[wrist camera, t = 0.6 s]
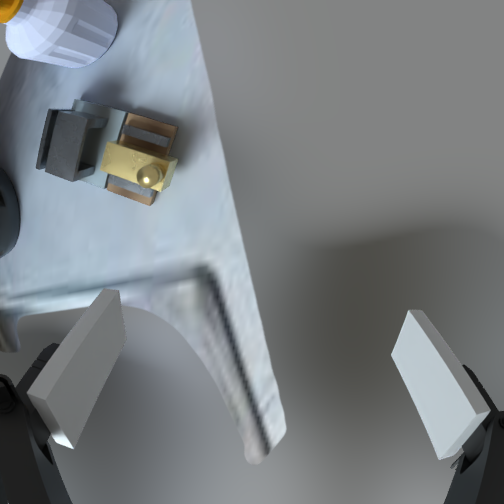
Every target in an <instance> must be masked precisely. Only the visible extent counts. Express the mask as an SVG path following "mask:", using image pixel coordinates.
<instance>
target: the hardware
mask: <svg viewBox="0 0 504 504" xmlns="http://www.w3.org/2000/svg"><path fill="white" fill-rule="evenodd" d="M108 120H109V119H108V118H104V117H100V116H97V115H93V114H89V113H85V112H82V111H75V110H74V109H49V110H48V113H47V117H46V121H45V125H44V130H43V134H42V138H41V143H40V148H39V153H38V158H37V164H36V169H39V170H40V169H43V168H46V169H45V172H47V173H50V174H52V175H55V176H58V177H60V178H63V179H66V180H68V181H71V182H74V181H77V180H79V179H82V178H85V177H88V176H91V175H94V171H95V167H96V166H93V165H90V164H87V163H85V162H82V161H80V158H81V154H82V150H83V146H84V142H85V138H86V134H87V131H88V128H103V127H106V126H107V123H108ZM121 133H122V134H125V135H128V136H132V137H135V138H138V139H141V140H144V141H147V142H151V143H154V144H157V145H160V146H163V147H168V146H169V143H170V140H171V138H170V137H167V136H164V135H161V134H158V133H155V132H152V131H148V130H145V129H142V128H139V127H135V126H132V125H129V124H124V125H123V128H122V132H121ZM107 183H110V184H113V185H116V186H118V187H121V188H124V189H127V190H129V191H132V192H135V193H138V194H140V195H143V196H146V197H149V198H150V197H152V196H153V193H154V189H151V188H143V187H142V186H140V185H139V184H137V183H135V182H132V181H129V180H126V179H123V178H121V177H118V176H115V175H112V174H109V178H108V182H107Z"/></svg>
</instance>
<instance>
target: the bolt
mask: <svg viewBox="0 0 504 504" xmlns="http://www.w3.org/2000/svg"><path fill="white" fill-rule="evenodd" d="M177 161H178V159H176V158H173V157H170V156H167V155H165V154H162V153H159V152H156V151H153V150H150V149H147V148H144V147H140V146H137V145H134V144H131V143H128V142H125V141H122V140H115V141H108V142H107V144H106V148H105V151H104V155H103V159H102V163H101V167H100V170H101V171H104V172H106V173H109V174H112V175H115V176H118V177H121V178H123V179H126V180H129V181H132V182H135V183H137V184H139V185H140V186H142V187H143V188H151V189H154V190H157V191H160V192H161V191H163V190H164V189H166V188H167V187H169V186H170V182H171V179H172V176H173V173H174V170H175V167H176V164H177Z"/></svg>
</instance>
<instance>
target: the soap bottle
mask: <svg viewBox="0 0 504 504" xmlns="http://www.w3.org/2000/svg"><path fill="white" fill-rule="evenodd" d="M0 23H3V24H6V25H7V26H6V43H7V46H8V48H9V49H10V50H11V51H12V52H13V53H14V54H15V55H16V56H18V57H19V58H23V59H29V60H35V61H40V62H45V63H50V64H55V65H60V66H65V67H71V68H80V67H84V66H87V65H89V64H91V63H92V62H94V61H96V60H97V59H99V58H100V57H101V56H102V55H103V54H104V53H105V52H106V51H107V50H108V48H109V47H110V45H111V43H112V42H113V40H114V38H115V35H116V31H117V27H118V22H117V14H116V12H115V11H114V9H113V8H112V6H110V5H109V4H107V3H106V2H104V1H103V0H0Z"/></svg>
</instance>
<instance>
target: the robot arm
mask: <svg viewBox="0 0 504 504" xmlns="http://www.w3.org/2000/svg"><path fill="white" fill-rule="evenodd" d="M19 225H20V217H19V207H18V202H17V198H16V194H15V191H14V188H13V186H12V184H11V182H10V180H9V178H8V176H7V175H6V173H5V172H4V171H3V170H2V169H1V168H0V258H2V257H3V256H5V255H6V254H8V253H9V252H10V251H11V250H12V249H13V247H14V246H15V244H16V241H17V238H18V234H19ZM126 340H127V337H126V332H125V326H124V320H123V314H122V308H121V301H120V294H119V290H112V289H103V290H102V292H101V293H100V294H99V295H98V297H97V298H96V299H95V300H94V301H93V303H92V304H91V305H90V306H89V308H88V309H87V310H86V312H85V313H84V314H83V316H82V317H81V318H80V319H79V320H78V322H77V323H76V324H75V326H74V327H73V328H72V330H71V331H70V332H69V334H68V335H67V336H66V338H65V339H64V340H63V342H62V343H61V344H60V345H59V344H56V343H52V344H51V345H49V346H48V347H47V348H45V349H43V351H42V352H41V353H40V355H39V356H38V357H37V360H35V361H34V363H33V364H32V367H30V368H29V369H28V371H27V372H26V374H25V375H24V376H23V378H22V379H21V381H20V382H19V384H18V385H17V386H16V388H15V387H14V385H13V383H12V381H11V379H10V378H9V377H7V376H6V375H2V374H0V504H8V503H9V504H72V502H71V500H70V497H69V495H68V493H67V490H66V488H65V485H64V483H63V480H62V478H61V475H60V473H59V470H58V467H57V465H56V462H55V459H54V456H53V453H52V450H51V447H50V445H49V443H48V441H47V440H48V438H49V436H50V434H51V435H52V436H53V438H54V440H55V441H56V443H59V444H61V445H64V446H67V447H70V448H72V449H74V448H75V446H76V443H77V441H78V439H79V436H80V434H81V432H82V430H83V428H84V425H85V423H86V421H87V419H88V417H89V414H90V412H91V410H92V408H93V406H94V404H95V402H96V400H97V398H98V396H99V394H100V392H101V389H102V387H103V385H104V383H105V381H106V379H107V377H108V375H109V373H110V371H111V369H112V367H113V365H114V363H115V361H116V360H117V357H118V356H119V354H120V352H121V350H122V348H123V346H124V344H125V342H126ZM391 356H392V358H393V360H394V362H395V364H396V366H397V368H398V370H399V372H400V374H401V376H402V378H403V380H404V382H405V384H406V386H407V388H408V391H409V393H410V395H411V397H412V399H413V401H414V403H415V405H416V407H417V410H418V412H419V414H420V416H421V419H422V421H423V423H424V425H425V428H426V430H427V432H428V435H429V437H430V439H431V442H432V444H433V446H434V448H435V451H436V454H437V456H438V458H439V460H440V459H444V458H447V457H450V456H453V455H454V454H455V453H456V452H457V451H458V450H459V449H460V448H461V447H462V448H463V450H464V453H463V454H462V455H461V456H460V457H459V458H458V459H457V460H456V461H455V462H454V463H453V464H452V466H451V468H453V467H454V466H455V465H456V464H458V465H457V468H456V469H455V470H456V472H455V475H454V478H453V480H452V483H451V486H450V489H449V491H448V494H447V497H446V499H445V502H444V504H504V411H500V412H499V411H498V409H497V408H496V406H495V404H494V403H493V401H492V400H491V398H490V397H489V395H488V394H487V392H486V390H485V389H484V388H483V386H482V384H481V383H480V382H478V378H477V377H476V375H475V374H474V373H473V371H472V370H470V369H469V368H468V367H467V366H465V365H461V364H460V362H459V360H458V359H457V358H456V356H455V355H454V353H453V352H452V351H451V349H450V348H449V346H448V345H447V344H446V342H445V341H444V339H443V338H442V337H441V335H440V334H439V332H438V331H437V330H436V329H435V327H434V326H433V325H432V323H431V322H430V320H429V319H428V318H427V317H426V315H425V314H424V313H423V311H422V310H408V313H407V316H406V319H405V321H404V324H403V327H402V329H401V332H400V334H399V337H398V340H397V343H396V345H395V347H394V349H393V352H392V354H391Z"/></svg>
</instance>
